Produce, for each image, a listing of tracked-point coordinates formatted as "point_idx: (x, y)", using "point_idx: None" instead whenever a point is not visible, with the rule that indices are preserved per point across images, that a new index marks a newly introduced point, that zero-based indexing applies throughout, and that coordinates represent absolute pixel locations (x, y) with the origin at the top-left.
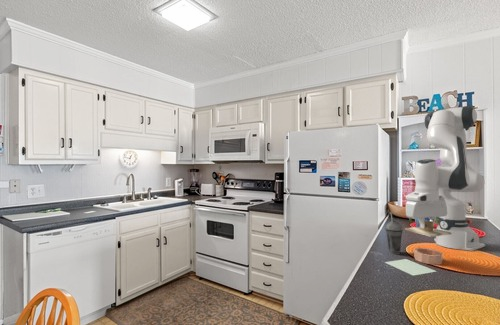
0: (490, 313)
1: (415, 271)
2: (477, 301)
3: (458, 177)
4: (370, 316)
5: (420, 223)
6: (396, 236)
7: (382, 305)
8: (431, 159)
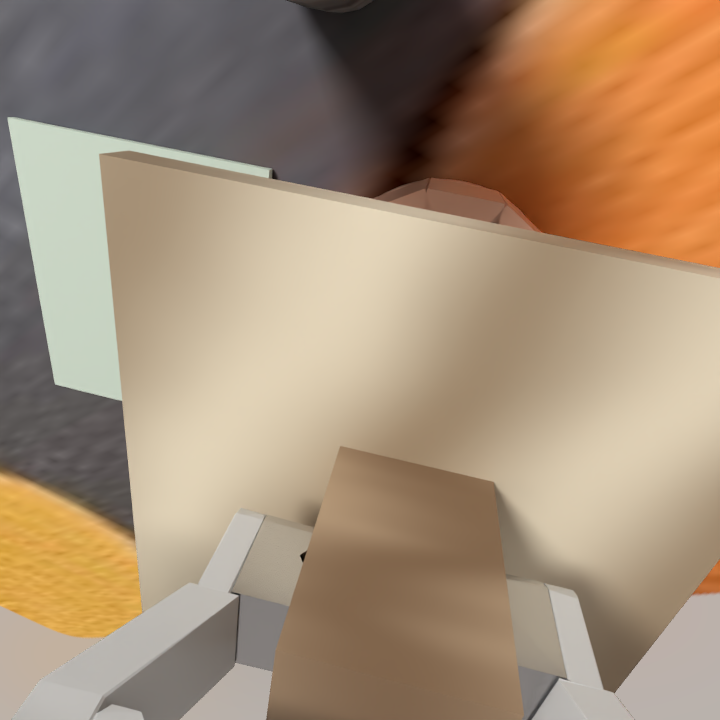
0: (96, 629)
1: (116, 362)
2: (132, 600)
3: None
4: None
5: (197, 589)
6: None
7: None
8: None
